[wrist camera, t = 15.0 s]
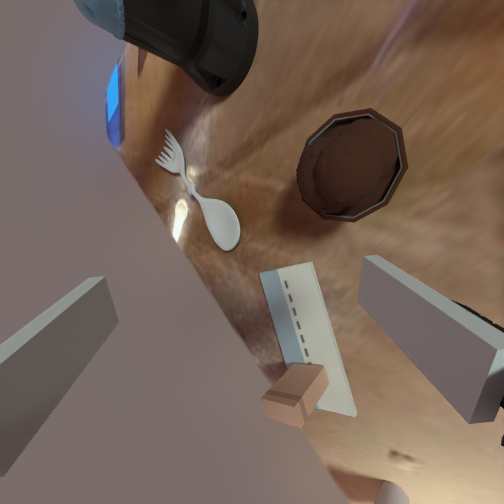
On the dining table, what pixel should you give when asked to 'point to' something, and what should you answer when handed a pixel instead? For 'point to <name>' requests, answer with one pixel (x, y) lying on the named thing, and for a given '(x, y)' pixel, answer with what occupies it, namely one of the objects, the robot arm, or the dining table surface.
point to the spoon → (204, 200)
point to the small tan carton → (295, 394)
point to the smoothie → (391, 494)
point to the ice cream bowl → (352, 165)
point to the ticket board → (307, 330)
